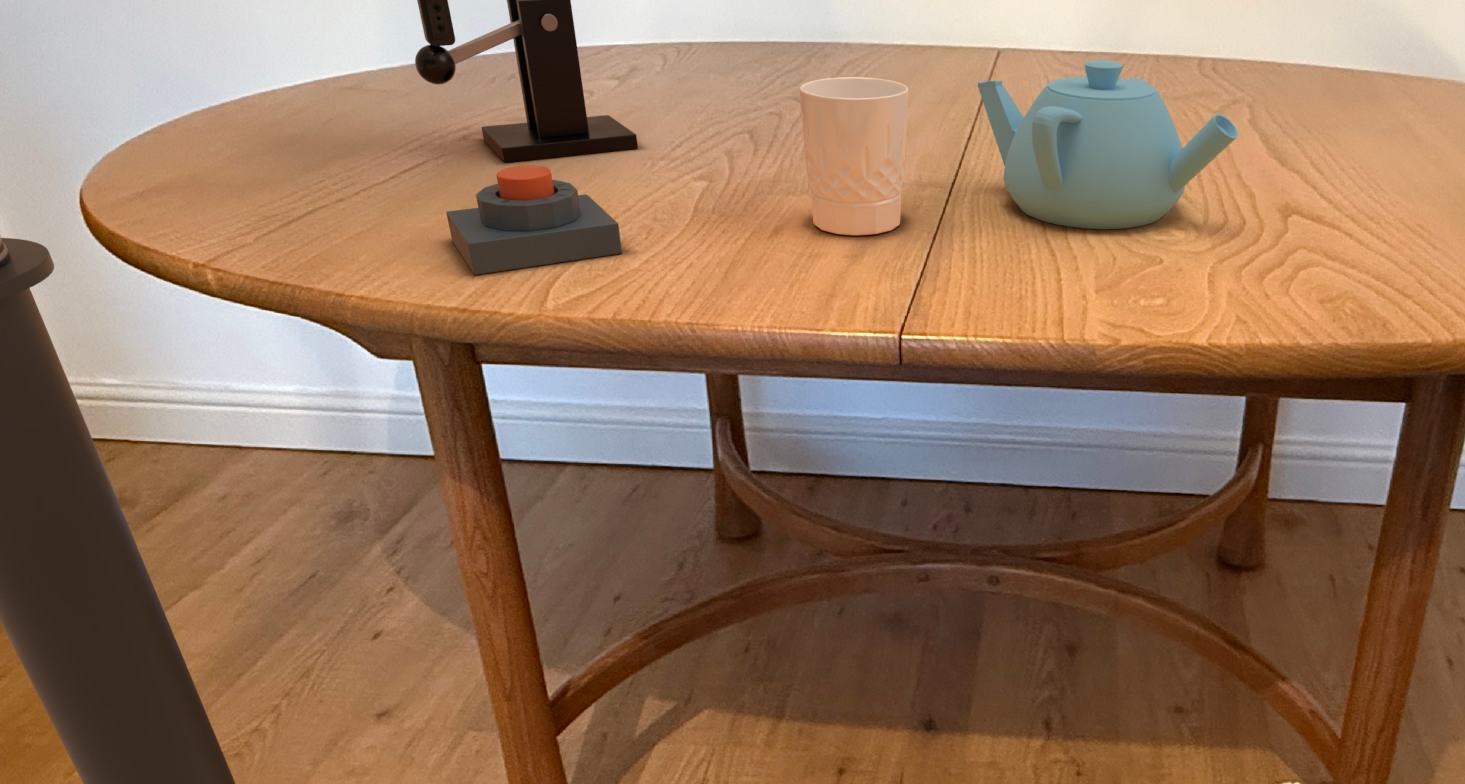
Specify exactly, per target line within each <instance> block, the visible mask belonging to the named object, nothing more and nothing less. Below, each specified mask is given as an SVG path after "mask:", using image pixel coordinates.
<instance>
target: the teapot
mask: <svg viewBox="0 0 1465 784" xmlns="http://www.w3.org/2000/svg"><path fill="white" fill-rule="evenodd" d="M1123 67H1124V64H1122V63H1121V62H1118V61H1115V60H1109V59H1094V60H1093V59H1092V60H1089V61H1086V62H1084V70H1085V75H1086V76H1070V77H1063V78H1058V79H1055V80H1052V81H1050V82H1049V83H1047V84H1046V85H1045V87H1044V88H1043V89H1042V90H1041V91H1040V92H1039V94H1038V95H1037V97H1036V98H1035V99H1034V101H1033V103H1032V104H1031V106H1030V107H1029V108H1028V110H1027V112H1026V113H1025V114H1024V115H1023V113H1022V112H1021V111H1020V109H1019V107H1018V106H1017V104H1016V103H1015V101H1014V100H1013V98H1012V97H1011V95H1010V94H1009V92H1008V90H1007V89H1006V87H1005V86H1004V84H1003V80H982V81H980V82H977V88H978V92H979V94H980V97H981V100H982V103H983V106H984V109H985V112H986V114H987V118H988V121H989V124H990V127H991V130H992V133H993V136H994V138H995V139H994V140H995V142H996V145H997V148H998V151H999V154H1000V157H1001V160H1002V163H1003V166H1004V168H1003V183H1004V187H1005V189H1006V191H1007V193H1008V194H1009V195H1010V197H1011V198H1012V200H1013V201H1014V203H1015V204H1016V206H1018V207H1019V209H1020V210H1021V211H1022V212H1023V213H1024V214H1026V215H1028V216H1030V217H1031V218H1034V219H1036V220H1039V221H1042V222H1045V223H1049V224H1054V225H1059V226H1063V227H1069V228H1078V229H1088V230H1118V229H1119V230H1121V229H1131V228H1138V227H1142V226H1146V225H1150V224H1152V223H1155V222H1157V221H1159V220H1160V219H1162V217H1164V216H1165V214H1168V212H1169V211H1170V210H1171V209H1172V208H1173V207H1174V206H1175V205H1176V204H1177V203H1178V202H1179V200H1180V199H1181V198H1182V196H1183V194H1184V192H1185V188H1186V187H1185V186H1186V185H1187V184H1188V183H1190V182H1191V181H1192V180H1193V179H1194V178H1195V177H1196V176H1197V175H1199V173H1201V171H1203V170H1204V169H1205V168H1206V167H1207V166H1208V165H1209V164H1210V163H1211V162H1213V160H1215V158H1217V157H1218V156H1219V155H1220V154H1221V153H1222V152H1223V151H1224V150H1225V149H1226V148H1227V147H1228V146H1229V145H1231V144H1232V143H1233V142H1234V141H1235V140H1236V139H1237V138H1238V137H1239V131H1238V128H1237V127H1236V125H1235V124H1234V122H1233V121H1231V119H1230V118H1228V117H1227V116H1226V115H1224V114H1221V113H1215V114H1214V115H1213V116H1212V117H1211V118H1210V119H1209V120H1208V121H1207V122H1206V123H1205V124H1204V125H1203V126H1202V127H1201V128H1200V129H1199V131H1197V133H1196V134H1195V135H1193V137H1192V138H1191V139H1190V140H1189V141H1188V142H1187V143H1186V144H1185V145H1184V146H1183V147H1182V142H1181V138H1180V135H1179V132H1178V129H1177V127H1176V125H1175V122H1174V120H1173V118H1172V116H1171V114H1170V111H1169V109H1168V107H1167V105H1166V103H1165V101H1164V100H1163V98H1162V96H1161V93H1160V92H1159V90H1157V88H1155V86H1153V85H1151V84H1150V83H1149V82H1148V81H1146V80H1145V79H1141V78H1137V77H1131V78H1120V75H1121V73H1122V71H1123Z"/></svg>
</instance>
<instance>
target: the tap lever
mask: <svg viewBox="0 0 1465 784" xmlns="http://www.w3.org/2000/svg"><path fill="white" fill-rule="evenodd" d="M517 10H518V9H517ZM520 35H522V33H521V27H520V21H519V20H517V21H515V22H512V23H511V22H510V23H508V24H506V25H503V26H501V27H499V28H497V29H493V30H492V31H490V32H488V33H485V34H483V35H481V36H479V37H476V38H473V39H472V40H469V41H467V42H464V43H462V44H460V45H458V46H456V47H454V48H453V47H452V48H451V49H449V50H447V48H445V47H444V46H432V45H430V44H426V45H424V46H422V47H421V48H420V49H419V50H418V51H417V53H416V55H415V57H414V58H415V59H414V66H415V68H416V72H417V73H418V74H419V76H420V77H421V78H422V79H423V80H425V81H426V82H428V83H430V84H432V85H444V84H447V83H448V82H450V81H451V80H452V79H453V78H454V76H455V74H456V70H457V67H456V66H457V64H460V63H462V62H463V61H467V60H468V59H470V58H472V57H474V56H477V55H480V54H482V53H484V52H486V51H488V50H491V49H493V48H495V47H497V46H499V45H502V44H504V43H506V42H508V41H511V40H513V38H515V37H518V36H520Z"/></svg>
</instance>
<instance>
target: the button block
mask: <svg viewBox="0 0 1465 784" xmlns="http://www.w3.org/2000/svg"><path fill="white" fill-rule="evenodd" d="M552 180H553V187H554V193H555V195H552V196H549V197H545V198H541V199H533V200H506V199H502V198H500V193H499V187H498V183H495V184H492V185H488V186H485V187H483V188H482V189H481V190H479V191H478V192H477V193H476V194H475V198H476V203H477V207H472V208H466V209H456V210H448V211H446V218H447V222H448V227H449V230H450V231H449V233H450V237H451V242H452V243H453V244H454V246H455V248H456V249H457V251H458V252H459V254H460V255H461V257H462V258H463V260H464V262H465V263H466V264H467V266H468V267H469V269H470V270H471V272H472V273H473V275H474V276H478V275H484V274H491V273H500V272H506V271H513V270H519V269H524V268H532V267H539V266H545V265H553V264H559V263H560V264H561V263H566V262H573V261H579V260H587V259H594V258H599V257H606V256H614V255H621V254H623V249H622V242H621V233H620V226H619V222H618V221H616V219H614V218H613V217H612V216H611V215H610V214H609V213H608V212H607V211H606V210H604V208H602V207H601V206H600V205H599V204H598V203H597V202H596V201H595V200H594V199H592V197H591V196H589V194H586V193H585V194H579V193H578V188H576V187H575V186H574V184H572V183H570V182H568V181H567V182H566V181H562V180H557V179H552Z"/></svg>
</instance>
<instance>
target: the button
mask: <svg viewBox="0 0 1465 784" xmlns="http://www.w3.org/2000/svg"><path fill="white" fill-rule="evenodd" d="M495 176H496V182H497V184H498V187H499V193H500V198H502V199H506V200H533V199H541V198H545V197H549V196H552V195H555V193H554V187H553V180H554V179H553V174H552V171H551V169H550V168H548V167H545V166H541V165H515V166H510V167H506V168H502V169H500V170H499V171H497V172H496V174H495Z"/></svg>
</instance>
